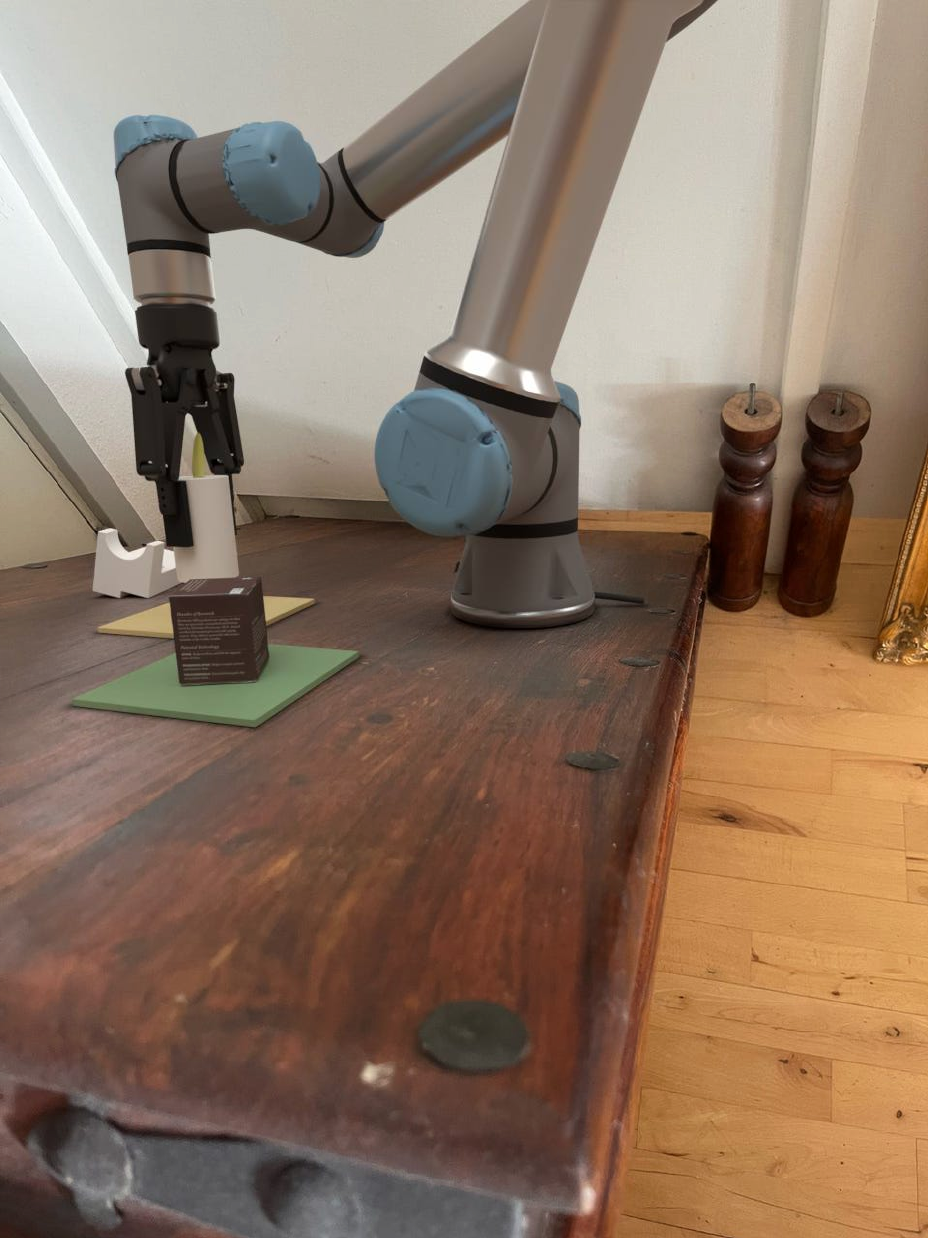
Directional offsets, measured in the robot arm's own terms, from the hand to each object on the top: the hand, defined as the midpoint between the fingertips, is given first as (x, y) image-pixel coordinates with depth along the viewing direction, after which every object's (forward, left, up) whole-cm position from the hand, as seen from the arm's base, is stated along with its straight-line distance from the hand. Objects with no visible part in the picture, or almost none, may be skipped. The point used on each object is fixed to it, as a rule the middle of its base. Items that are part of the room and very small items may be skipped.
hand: (203, 540), depth 79 cm
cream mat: (0, 0, -8) cm, 8 cm away
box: (-14, +17, -8) cm, 23 cm away
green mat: (-14, +17, -8) cm, 24 cm away
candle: (0, 0, -4) cm, 4 cm away
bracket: (+18, -12, -9) cm, 23 cm away
